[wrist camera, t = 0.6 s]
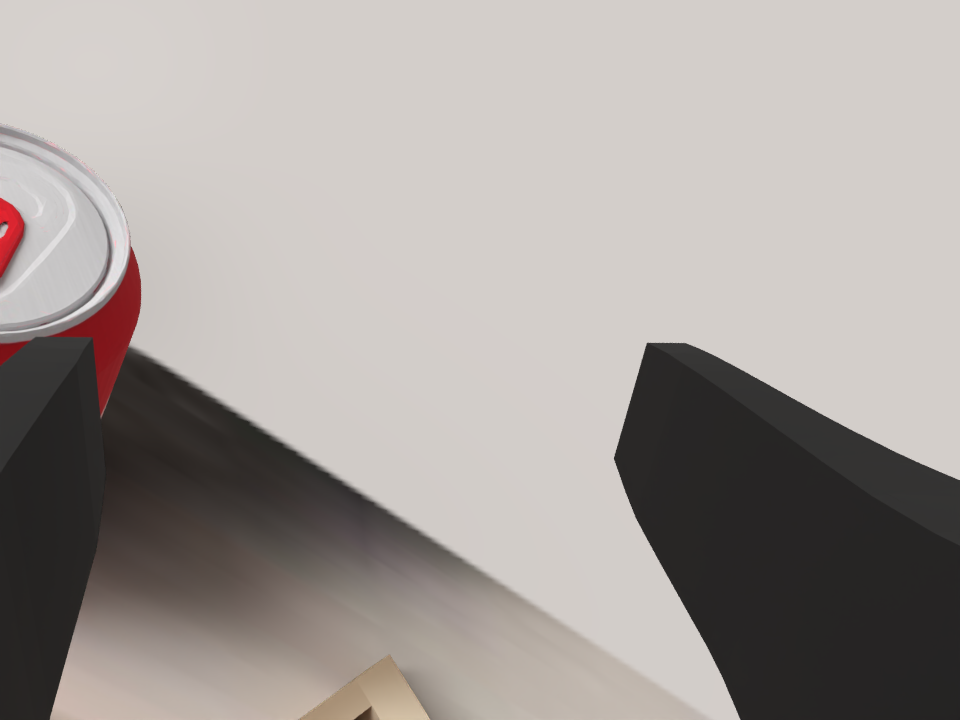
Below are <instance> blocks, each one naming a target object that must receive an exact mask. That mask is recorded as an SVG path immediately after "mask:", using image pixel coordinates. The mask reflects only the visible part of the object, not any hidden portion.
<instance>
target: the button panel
mask: <svg viewBox="0 0 960 720" xmlns="http://www.w3.org/2000/svg"><path fill="white" fill-rule="evenodd" d="M299 720H430V718H429V717H428V715H427V713H426V712H425V710H424V709H423V707H422V705H421V704H420V702H419V701H418V699H417V697H416V696H415V694H414V693H413V691H412V689H411V688H410V686H409V685H408V683H407V681H406V680H405V678H404V677H403V675H402V673H401V672H400V670H399V669H398V667H397V665H396V664H395V662H394V661H393V659H392V657H391V656H390V655H388V656H387V657H385V658H384V659H382V660H381V661H379V662H378V663H376V664H375V665H373V666H372V667H370V668H369V669H367V670H366V671H365V672H363V673H362V674H361V675H359V676H358V677H356V678H355V679H354V680H352V681H351V682H350V683H348V684H347V685H346V686H344V687H343V688H341V689H340V690H339V691H337V692H336V693H335V694H333V695H332V696H330V697H329V698H328V699H326V700H325V701H324V702H322V703H321V704H319V705H318V706H317V707H315V708H314V709H313V710H311V711H310V712H309V713H307V714H306V715H304V716H303V717H302V718H300V719H299Z"/></svg>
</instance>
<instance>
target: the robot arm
mask: <svg viewBox="0 0 960 720" xmlns="http://www.w3.org/2000/svg"><path fill="white" fill-rule="evenodd" d="M614 460H615V463H616V466H617V469H618V472H619V474H620V477H621V480H622V483H623V486H624V489H625V492H626V494H627V496H628V499H629V502H630V504H631V507H632V509H633V512H634V514H635V517H636V519H637V521H638V523H639V525H640V526H641V528H642V530H643V532H644V534H645V536H646V538H647V540H648V541H649V543H650V545H651V547H652V548H653V551H654V552H655V554H656V556H657V558H658V560H659V562H660V563H661V565H662V567H663V569H664V571H665V572H666V574H667V576H668V578H669V579H670V581H671V583H672V585H673V587H674V588H675V590H676V592H677V594H678V596H679V597H680V599H681V601H682V603H683V604H684V606H685V608H686V610H687V612H688V613H689V615H690V617H691V619H692V621H693V622H694V624H695V626H696V628H697V629H698V631H699V633H700V635H701V637H702V638H703V640H704V642H705V643H706V645H707V647H708V649H709V651H710V653H711V655H712V657H713V659H714V661H715V663H716V665H717V667H718V669H719V671H720V673H721V675H722V677H723V679H724V682H725V684H726V687H727V689H728V691H729V694H730V696H731V698H732V700H733V703H734V705H735V708H736V710H737V712H738V715H739V717H740V719H741V720H960V480H957V479H955V478H953V477H951V476H948V475H946V474H943V473H941V472H939V471H936V470H934V469H932V468H929V467H927V466H925V465H922V464H920V463H918V462H915V461H914V460H911V459H909V458H907V457H905V456H903V455H900V454H898V453H896V452H894V451H892V450H890V449H888V448H886V447H884V446H882V445H880V444H878V443H876V442H874V441H872V440H870V439H868V438H866V437H864V436H862V435H860V434H858V433H856V432H854V431H852V430H850V429H848V428H846V427H844V426H842V425H841V424H839V423H837V422H835V421H833V420H831V419H829V418H827V417H826V416H823V415H822V414H820V413H818V412H816V411H815V410H813V409H811V408H809V407H807V406H805V405H804V404H802V403H800V402H798V401H796V400H795V399H793V398H791V397H789V396H787V395H786V394H784V393H782V392H780V391H778V390H777V389H775V388H773V387H771V386H769V385H768V384H766V383H764V382H762V381H760V380H758V379H757V378H755V377H753V376H751V375H750V374H748V373H746V372H744V371H742V370H740V369H739V368H737V367H735V366H733V365H731V364H729V363H727V362H725V361H723V360H722V359H720V358H718V357H716V356H714V355H712V354H709V353H708V352H705V351H703V350H701V349H699V348H696V347H693V346H691V345H689V344H686V343H647V345H646V348H645V352H644V355H643V359H642V362H641V366H640V369H639V373H638V376H637V380H636V383H635V387H634V390H633V394H632V397H631V401H630V404H629V408H628V411H627V415H626V418H625V422H624V425H623V429H622V432H621V435H620V439H619V443H618V446H617V450H616V453H615V457H614ZM105 480H106V468H105V457H104V447H103V437H102V426H101V416H100V406H99V395H98V385H97V374H96V364H95V354H94V343H93V337H35V338H33V339H32V340H31V341H30V342H28V343H27V344H26V345H24V346H23V347H22V348H21V349H20V350H18V351H17V352H16V353H15V354H14V355H13V356H11V357H10V358H9V359H8V360H7V361H5V362H4V363H3V364H2V365H1V366H0V720H50V715H51V712H52V708H53V705H54V701H55V697H56V694H57V690H58V687H59V683H60V679H61V676H62V672H63V668H64V665H65V661H66V658H67V654H68V650H69V647H70V643H71V640H72V636H73V632H74V629H75V625H76V622H77V618H78V614H79V611H80V607H81V604H82V600H83V596H84V592H85V589H86V585H87V581H88V578H89V574H90V570H91V567H92V563H93V559H94V555H95V551H96V548H97V541H98V534H99V527H100V520H101V513H102V504H103V496H104V488H105Z"/></svg>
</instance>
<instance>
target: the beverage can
mask: <svg viewBox="0 0 960 720" xmlns="http://www.w3.org/2000/svg"><path fill="white" fill-rule="evenodd" d="M140 306H141V279H140V274H139V268H138V264H137V261H136V257H135V254H134V252H133V250H132V247H131V240H130V233H129V228H128V223H127V220H126V217H125V215H124V212H123V209H122V207H121V205H120V203H119V202H118V201H117V199H116V197H115V196H114V194H113V193H112V191H111V190H110V189H109V187H108V186H107V184H106V183H105V182H104V181H103V180H102V179H101V178H100V177H99V176H98V175H97V174H96V173H95V172H94V171H93V170H92V169H91V168H90V167H88V166H87V165H86V164H85V163H83V162H82V161H81V160H80V159H78V158H77V157H76V156H74V155H72V154H71V153H69V152H67V151H66V150H65V149H63V148H62V147H60V146H58V145H56V144H54V143H52V142H50V141H48V140H46V139H44V138H41V137H39V136H37V135H34V134H32V133H29V132H27V131H24V130H21V129H18V128H15V127H12V126H9V125H5V124H1V123H0V366H1V365H2V364H3V363H4V362H5V361H7V360H8V359H9V358H10V357H11V356H13V355H14V354H15V353H16V352H17V351H18V350H20V349H21V348H22V347H23V346H24V345H26V344H27V343H28V342H30V341H31V340H32V339H33V338H35V337H93V343H94V354H95V364H96V374H97V385H98V395H99V406H100V416H101V418H102V415H103V413H104V410H105V407H106V405H107V402H108V399H109V397H110V394H111V391H112V389H113V386H114V383H115V380H116V378H117V375H118V372H119V370H120V367H121V364H122V362H123V359H124V356H125V354H126V351H127V348H128V346H129V343H130V340H131V338H132V335H133V332H134V330H135V327H136V324H137V321H138V317H139V313H140Z"/></svg>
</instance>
